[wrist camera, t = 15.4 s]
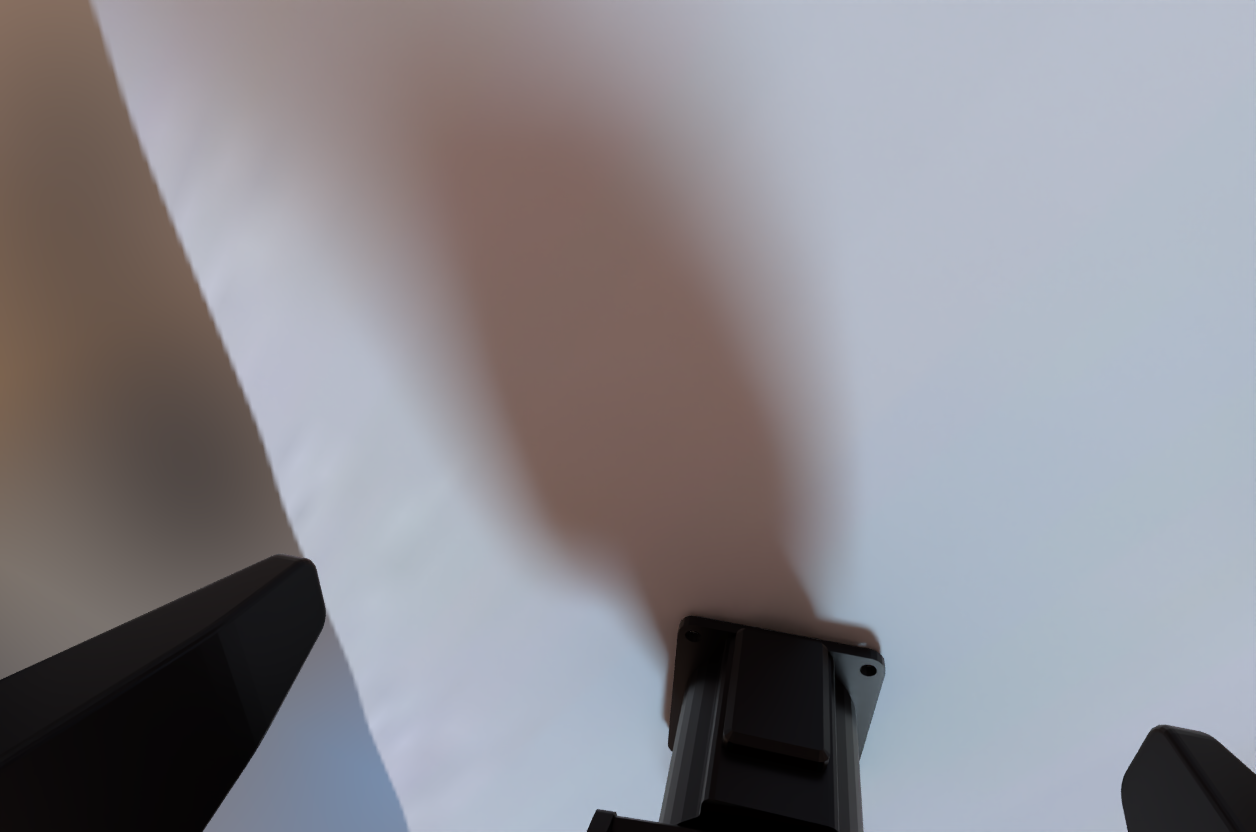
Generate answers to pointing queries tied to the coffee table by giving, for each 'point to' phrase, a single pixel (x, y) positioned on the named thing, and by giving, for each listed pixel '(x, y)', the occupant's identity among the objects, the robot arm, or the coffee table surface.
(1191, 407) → the coffee table surface
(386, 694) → the coffee table surface
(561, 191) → the coffee table surface
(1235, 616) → the coffee table surface
